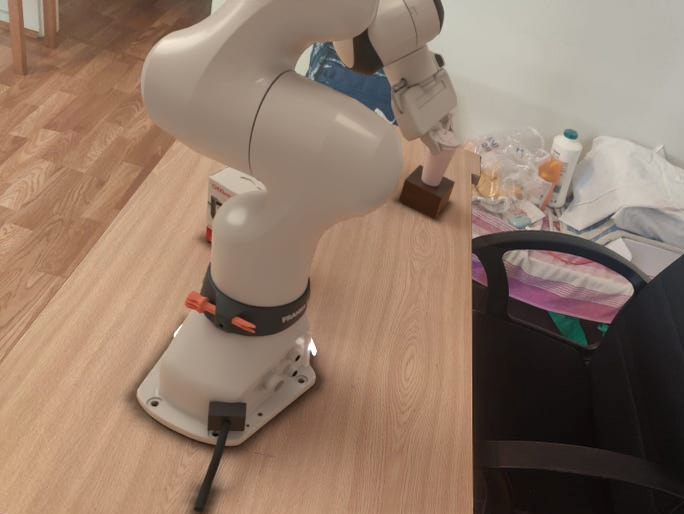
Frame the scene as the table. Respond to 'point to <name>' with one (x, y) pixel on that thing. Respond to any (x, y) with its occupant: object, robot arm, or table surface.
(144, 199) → the table surface
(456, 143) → the smoothie
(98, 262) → the table surface
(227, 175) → the ink box
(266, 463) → the table surface
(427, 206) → the block
